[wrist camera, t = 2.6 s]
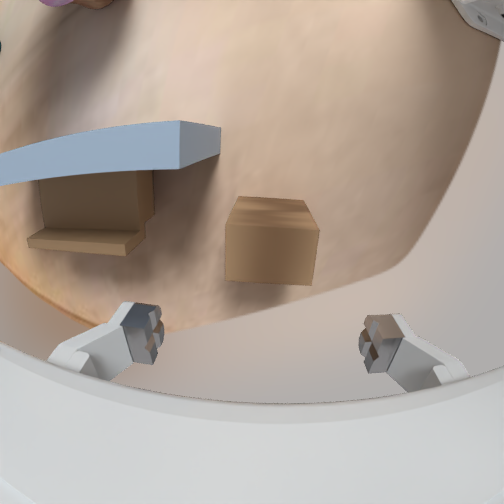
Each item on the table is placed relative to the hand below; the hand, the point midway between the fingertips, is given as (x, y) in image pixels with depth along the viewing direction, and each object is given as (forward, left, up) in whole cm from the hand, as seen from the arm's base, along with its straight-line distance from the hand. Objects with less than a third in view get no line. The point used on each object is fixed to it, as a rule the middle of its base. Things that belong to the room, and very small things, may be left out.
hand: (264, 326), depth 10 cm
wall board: (+14, -4, -13) cm, 19 cm away
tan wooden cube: (0, 0, -13) cm, 13 cm away
